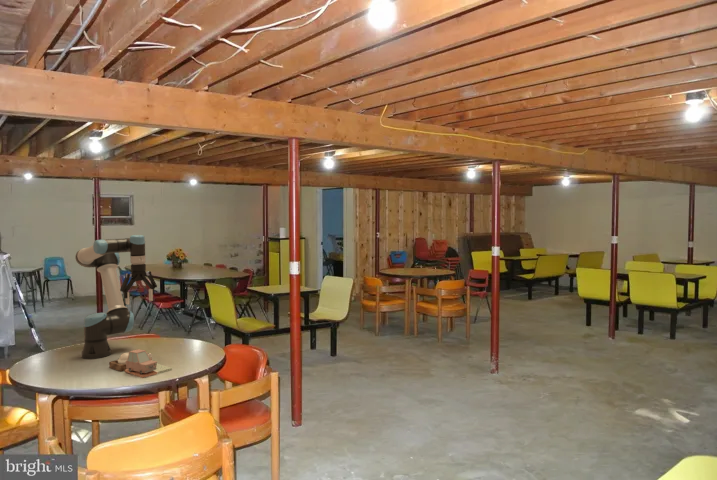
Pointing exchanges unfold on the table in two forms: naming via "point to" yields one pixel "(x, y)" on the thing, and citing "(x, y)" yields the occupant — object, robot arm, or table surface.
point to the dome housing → (117, 366)
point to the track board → (158, 370)
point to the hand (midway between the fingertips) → (139, 302)
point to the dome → (123, 358)
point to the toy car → (140, 362)
